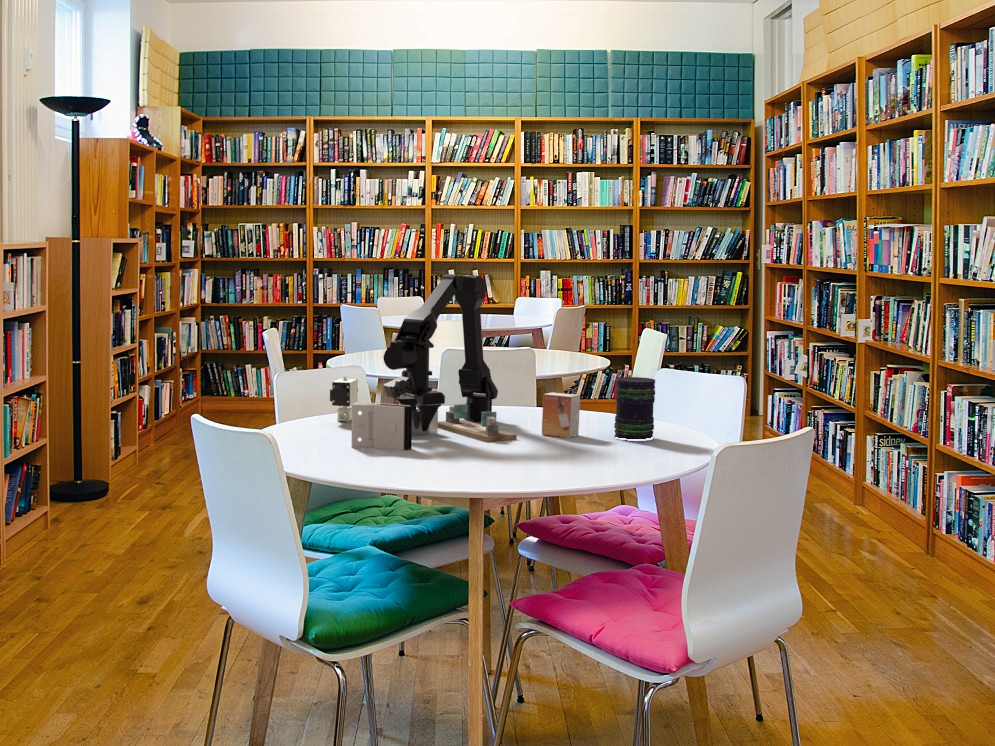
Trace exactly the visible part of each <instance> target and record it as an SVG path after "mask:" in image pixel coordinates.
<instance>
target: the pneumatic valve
mask: <svg viewBox="0 0 995 746" xmlns="http://www.w3.org/2000/svg"><path fill="white" fill-rule="evenodd" d="M331 385H332V386H331V389H329V401H330V402H331V406H332V407H333V406H338V409H337V410H336V411H337V418H336V421H337V422H347V423H349V422H352V405H355V404H357V403H358V391H359V388H358V378H347V375H345V376H343V378H339V379H337V380H335V379H334V380H332V381H331Z"/></svg>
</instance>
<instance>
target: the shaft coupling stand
mask: <svg viewBox="0 0 995 746" xmlns="http://www.w3.org/2000/svg"><path fill="white" fill-rule="evenodd" d="M467 405H468V404H466V403H463V404H461V403H459V404H453V406H451V405H450V406H449V411H445V420H442V421H440V420H439V421H438V429H441V430H444V431H448V432H451V433H455V434H458V435H461V436H464V437H467V438H471V439H474V440H478V441H481V442H484V443H489V442H491V443H492V442H498V441H500V442H501V441H502V440H503V441H511V440H513V439H514V440H517V437H518V434H516V433H512V432H510V431H509V432H508V431H506V430H501V429H499V425H498V424H497V411H492V412H482V417H481V421H480V423H481V424H480V423H478V422H474V421H470V420H466V419H463V418H467Z"/></svg>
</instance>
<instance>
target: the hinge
mask: <svg viewBox="0 0 995 746" xmlns="http://www.w3.org/2000/svg"><path fill="white" fill-rule="evenodd" d="M351 408H352V420H351V448H352V449H355V448H359V449H360V448H375V449H383V450H384V449H386V450H394V451H395V450H396V451H409V450H412V449H413V448H412V444H413V443H412V440H413V438H412V437H413V436H412V406H409V405H400V404H397V403H396V404H395V403H394V404H393V403H382V402H381V403H380V404H379V402H368V403H367V404H365V403H364V404H362V403H361V404H360V403H359V404H357V403H356V404H352V405H351ZM359 412H361V414H359ZM359 438H360V439H361V440H359Z"/></svg>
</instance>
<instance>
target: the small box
mask: <svg viewBox="0 0 995 746" xmlns="http://www.w3.org/2000/svg"><path fill="white" fill-rule="evenodd" d="M580 404H581V395H580V394H574V393H560V392H553V391H552V392H549V393H547V392H546V393H544V394H543V398H542V420H541V435H542V436H551V437H558V436H560V437H559V438H564V437H572V436H574V437H576V436H575V435H577V436H579V429H580V408H581V407H580ZM572 438H573V437H572Z"/></svg>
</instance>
